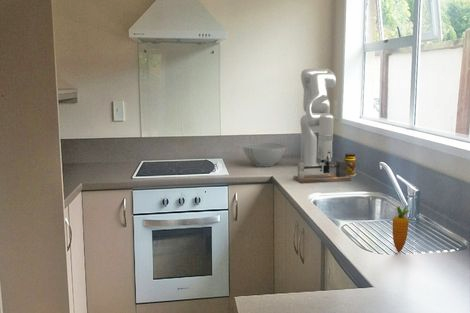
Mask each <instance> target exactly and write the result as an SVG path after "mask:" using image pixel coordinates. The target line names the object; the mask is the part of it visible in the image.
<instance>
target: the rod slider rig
mask: <svg viewBox="0 0 470 313" xmlns="http://www.w3.org/2000/svg"><path fill="white" fill-rule="evenodd" d="M346 163H347V162H345V161H344V160H336V162H335V164H336V165H335V164H330V169H331V168H332V169H334V168H335V173H323V174H309V175H307V174H306V175H305V170H306V169H307V170H308V169H309V170H310V169H320V168H322V166H320V165H319V166H305V167H304V163H301V162H297V175H293V176H292V178H293V180H295V181H297V182H298V183H300V184H310V183H311V184H315V183H317V184H318V183H331V182H332V183H336V182H352V178H351V176H346Z"/></svg>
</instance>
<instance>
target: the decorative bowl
mask: <svg viewBox="0 0 470 313" xmlns="http://www.w3.org/2000/svg"><path fill="white" fill-rule="evenodd" d="M286 147H287V146H286V145H284V144H282V143H281V144H280V143H270V142H259V143H258V142H256V143H248V144H247V143H246V144H244V145H242V148H243V151H244V154H245V157H247V159H248V160H249V161H251V162H252V163H253V164H254V165H253V166H255V165H256V167H260V166H270V167H274V166H273V165H275V164H276V163H278V162H279V161H280V160H281V159H282V157H283V156H284V154H285V151H286V149H287V148H286Z"/></svg>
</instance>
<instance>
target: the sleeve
mask: <svg viewBox="0 0 470 313" xmlns="http://www.w3.org/2000/svg"><path fill="white" fill-rule="evenodd" d="M319 166H322V168H319V171H320V170H321V171H320V172H323V170H324V162H322V163H320V162H319Z"/></svg>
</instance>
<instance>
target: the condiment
mask: <svg viewBox="0 0 470 313" xmlns="http://www.w3.org/2000/svg"><path fill="white" fill-rule="evenodd" d="M355 156H356V155H355V153H351V152H350V153H348V152H347V153H345V157H344V160H343V161H345V162H347V163H346V176H348V177H355V176H356V175H357V173H356V157H355Z"/></svg>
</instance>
